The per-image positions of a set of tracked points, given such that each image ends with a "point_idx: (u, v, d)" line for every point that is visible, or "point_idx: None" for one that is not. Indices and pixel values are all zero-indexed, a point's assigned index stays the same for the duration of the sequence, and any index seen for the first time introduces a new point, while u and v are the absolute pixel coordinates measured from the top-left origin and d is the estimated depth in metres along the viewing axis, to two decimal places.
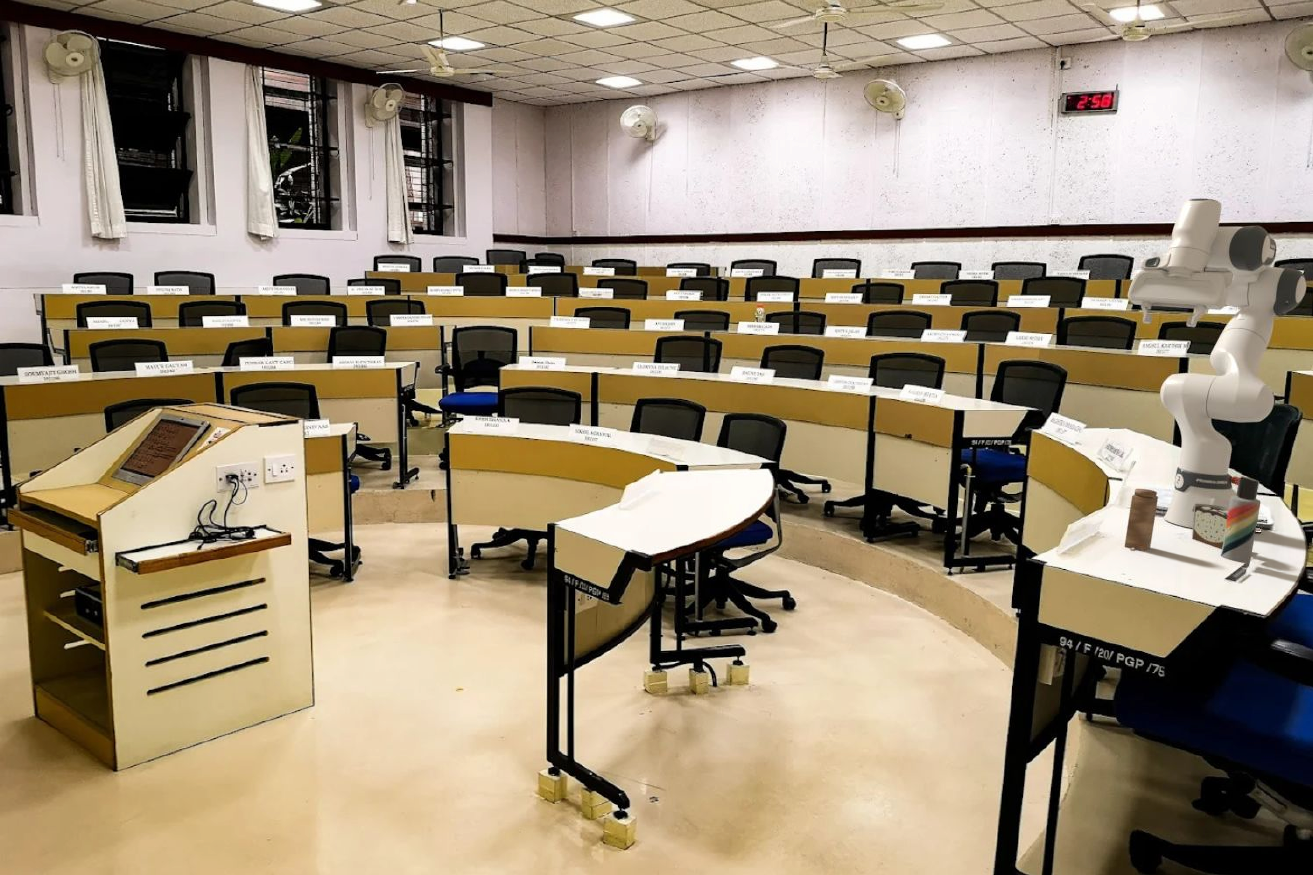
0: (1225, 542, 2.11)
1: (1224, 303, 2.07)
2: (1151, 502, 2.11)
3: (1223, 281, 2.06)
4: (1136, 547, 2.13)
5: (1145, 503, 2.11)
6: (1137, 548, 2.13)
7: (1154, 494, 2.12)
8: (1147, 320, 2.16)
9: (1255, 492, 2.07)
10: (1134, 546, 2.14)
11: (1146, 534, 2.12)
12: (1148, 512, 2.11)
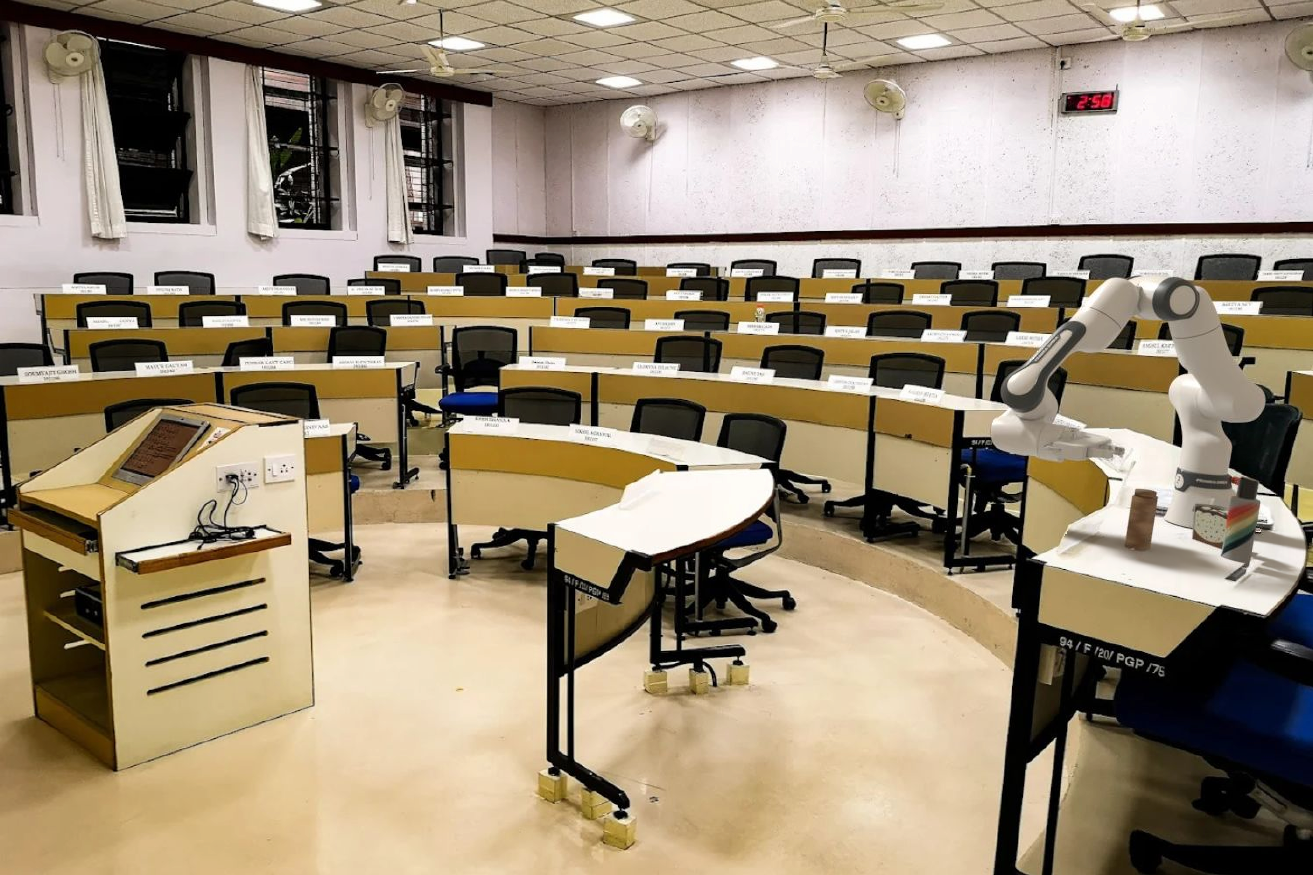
0: (1225, 542, 2.11)
1: (1075, 451, 2.14)
2: (1151, 502, 2.11)
3: (1056, 456, 2.17)
4: (1136, 547, 2.13)
5: (1145, 503, 2.11)
6: (1137, 548, 2.13)
7: (1154, 494, 2.12)
8: None
9: (1255, 492, 2.07)
10: (1134, 546, 2.14)
11: (1146, 534, 2.12)
12: (1148, 512, 2.11)
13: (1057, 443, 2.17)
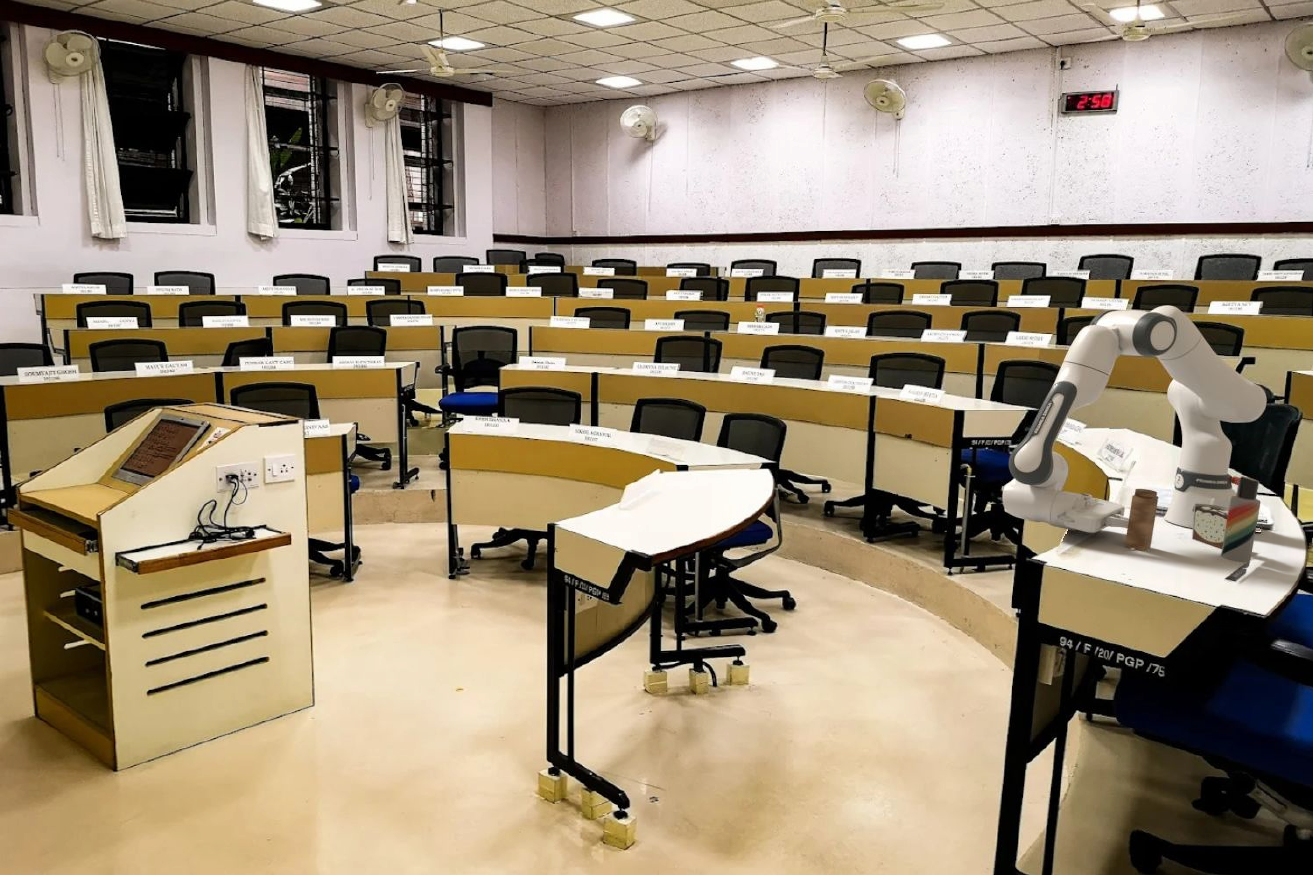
0: (1225, 542, 2.11)
1: (1089, 523, 2.13)
2: (1151, 502, 2.11)
3: (1070, 527, 2.17)
4: (1136, 547, 2.13)
5: (1145, 503, 2.11)
6: (1137, 548, 2.13)
7: (1154, 494, 2.11)
8: None
9: (1255, 492, 2.07)
10: (1134, 546, 2.14)
11: (1146, 534, 2.12)
12: (1148, 512, 2.11)
13: (1070, 514, 2.16)
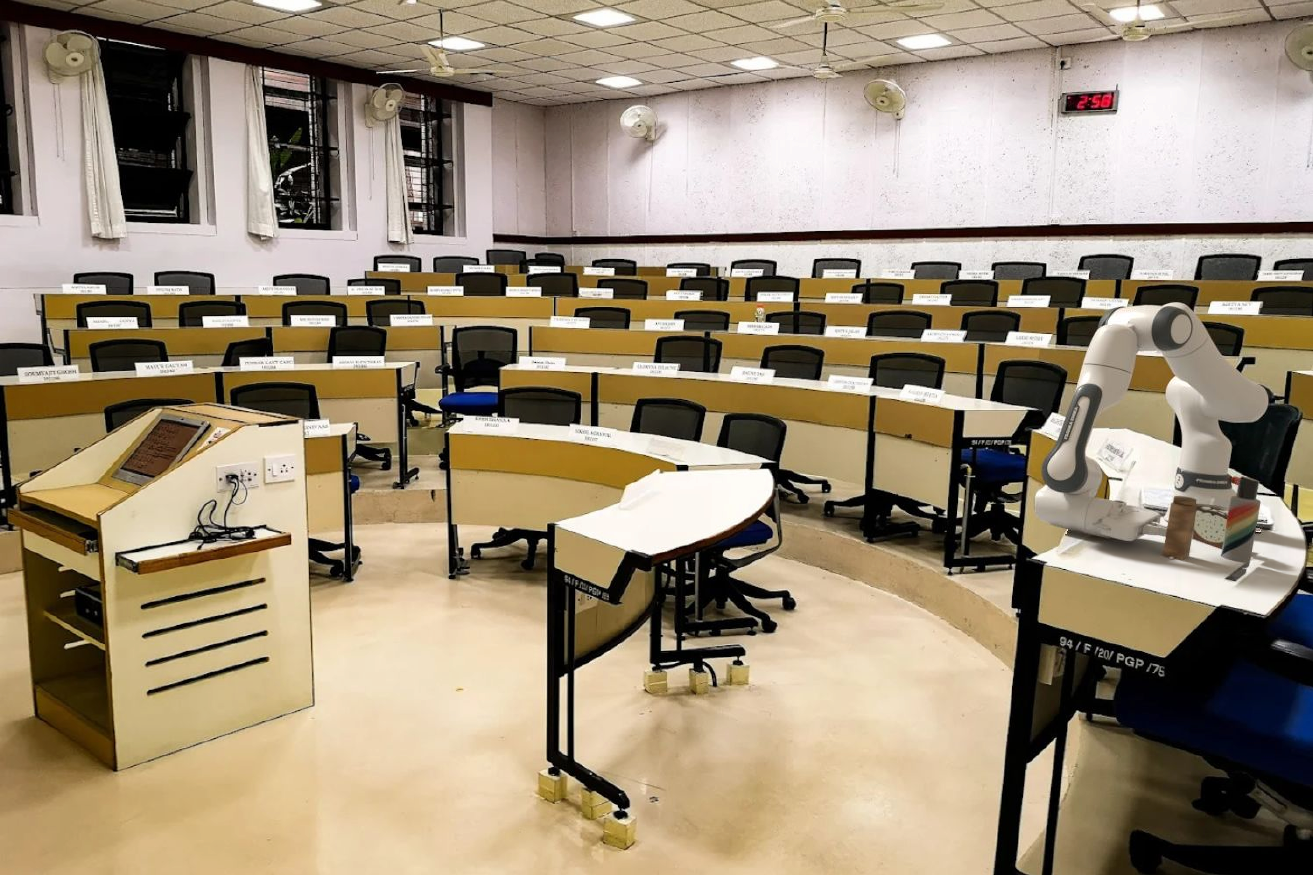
0: (1225, 542, 2.11)
1: (1126, 531, 2.08)
2: (1191, 510, 2.06)
3: (1106, 535, 2.11)
4: (1175, 556, 2.08)
5: (1184, 511, 2.06)
6: (1176, 557, 2.08)
7: (1194, 502, 2.06)
8: None
9: (1255, 492, 2.07)
10: (1173, 555, 2.08)
11: (1185, 543, 2.07)
12: (1188, 520, 2.06)
13: (1107, 522, 2.11)
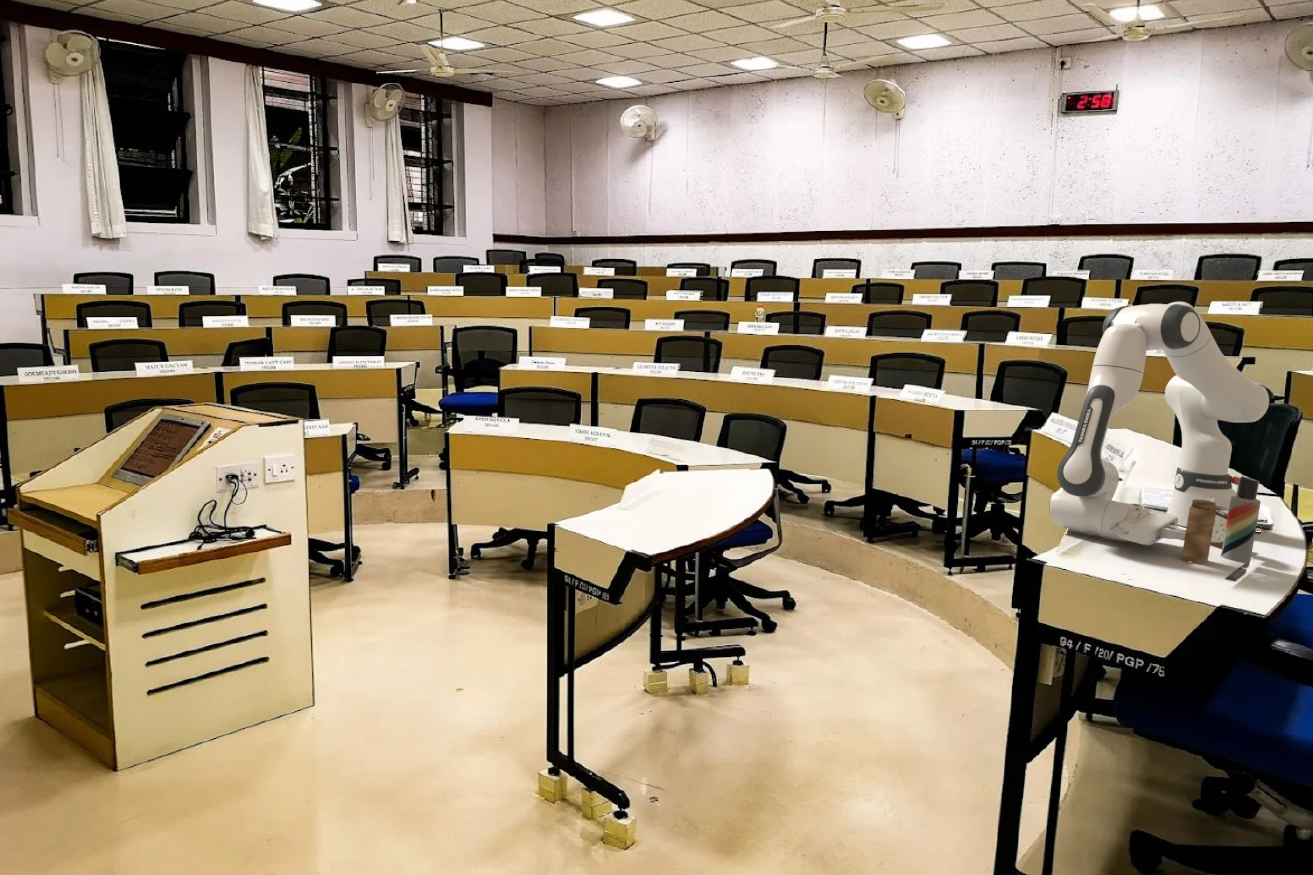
0: (1225, 542, 2.11)
1: (1145, 535, 2.05)
2: (1210, 514, 2.03)
3: (1124, 539, 2.09)
4: (1194, 560, 2.05)
5: (1203, 515, 2.03)
6: (1195, 561, 2.05)
7: (1213, 505, 2.04)
8: None
9: (1255, 492, 2.07)
10: (1192, 559, 2.06)
11: (1204, 547, 2.04)
12: (1207, 524, 2.03)
13: (1124, 525, 2.08)
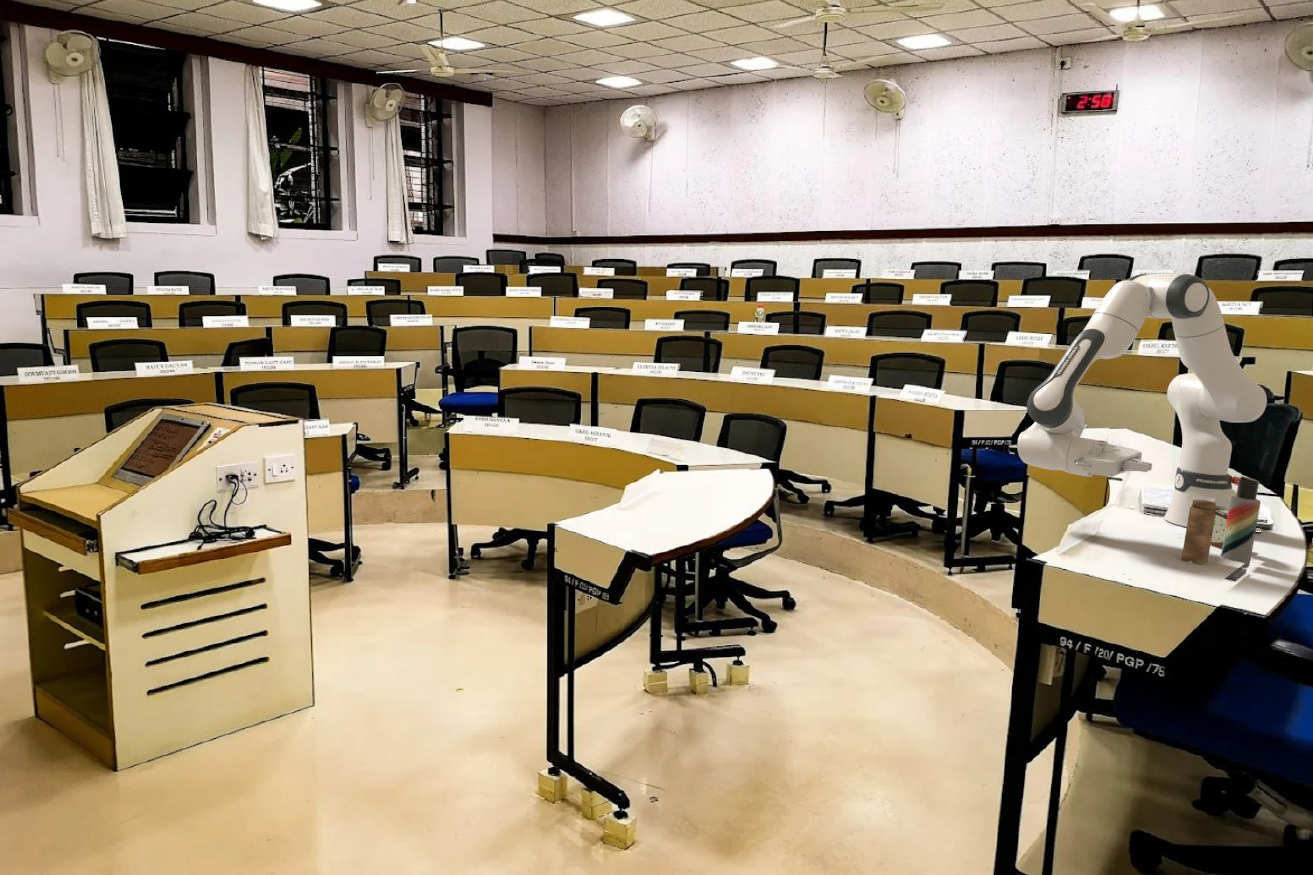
0: (1225, 542, 2.11)
1: (1107, 466, 2.09)
2: (1210, 514, 2.03)
3: (1087, 472, 2.13)
4: (1194, 560, 2.05)
5: (1204, 515, 2.03)
6: (1195, 561, 2.05)
7: (1213, 505, 2.03)
8: (1148, 470, 2.13)
9: (1255, 492, 2.07)
10: (1192, 559, 2.06)
11: (1205, 547, 2.04)
12: (1207, 524, 2.03)
13: (1087, 459, 2.13)
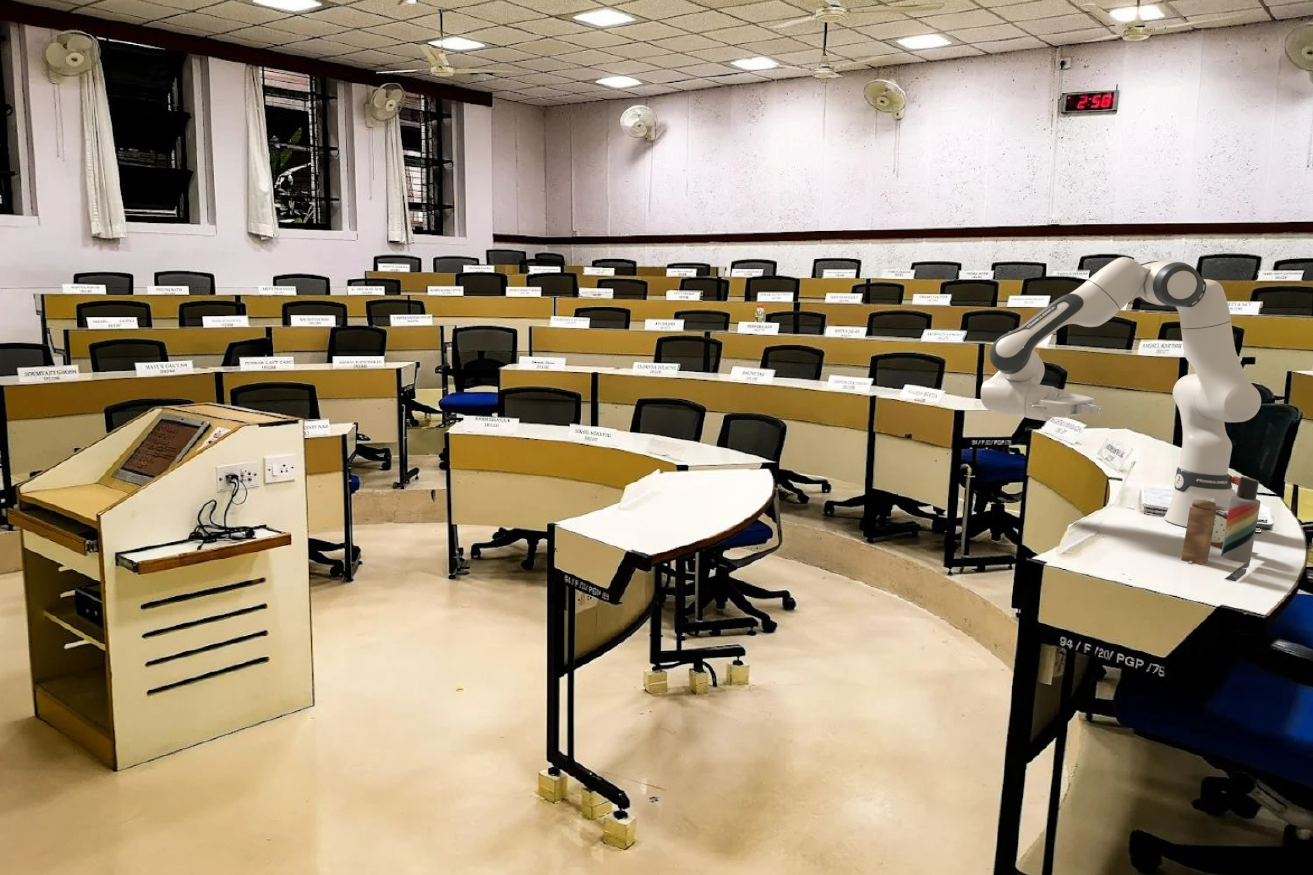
0: (1225, 542, 2.11)
1: (1060, 408, 2.25)
2: (1210, 514, 2.03)
3: (1042, 414, 2.29)
4: (1194, 560, 2.05)
5: (1204, 515, 2.03)
6: (1195, 561, 2.05)
7: (1213, 505, 2.03)
8: (1099, 413, 2.29)
9: (1255, 492, 2.07)
10: (1192, 559, 2.06)
11: (1205, 547, 2.04)
12: (1207, 524, 2.03)
13: (1043, 401, 2.29)
